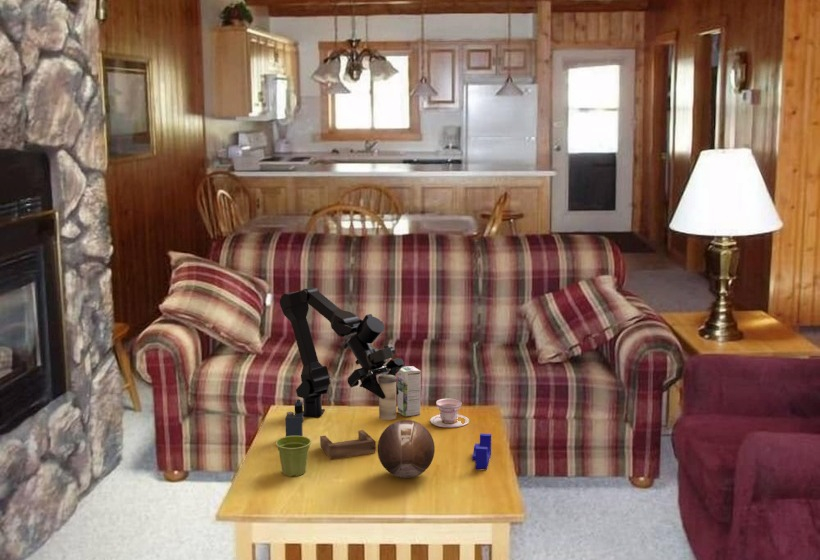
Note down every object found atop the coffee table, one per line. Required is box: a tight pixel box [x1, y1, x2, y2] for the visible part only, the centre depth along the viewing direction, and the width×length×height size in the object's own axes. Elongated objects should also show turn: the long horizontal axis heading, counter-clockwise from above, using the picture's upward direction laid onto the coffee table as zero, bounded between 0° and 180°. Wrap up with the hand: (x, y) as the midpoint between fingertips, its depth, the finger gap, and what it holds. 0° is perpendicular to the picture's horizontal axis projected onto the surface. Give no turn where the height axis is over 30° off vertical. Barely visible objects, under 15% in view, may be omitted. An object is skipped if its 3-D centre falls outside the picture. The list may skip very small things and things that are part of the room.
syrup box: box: [397, 365, 422, 417], centre depth 314 cm, size 6×6×14 cm
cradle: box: [319, 429, 377, 460], centre depth 284 cm, size 10×13×3 cm
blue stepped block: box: [472, 433, 492, 471], centre depth 275 cm, size 12×4×6 cm, turn 170°
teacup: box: [429, 397, 470, 429], centre depth 307 cm, size 12×12×6 cm
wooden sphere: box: [377, 419, 436, 479], centre depth 264 cm, size 15×15×15 cm
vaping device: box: [284, 398, 304, 437], centre depth 292 cm, size 3×5×12 cm, turn 89°
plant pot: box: [275, 435, 312, 477], centre depth 268 cm, size 9×9×9 cm
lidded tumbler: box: [377, 374, 398, 421], centre depth 290 cm, size 5×5×12 cm
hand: (391, 396), depth 289 cm, fingers closed on lidded tumbler, 5 cm apart
